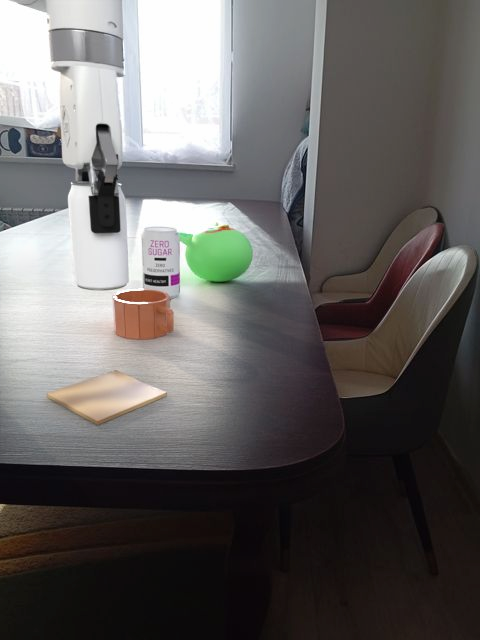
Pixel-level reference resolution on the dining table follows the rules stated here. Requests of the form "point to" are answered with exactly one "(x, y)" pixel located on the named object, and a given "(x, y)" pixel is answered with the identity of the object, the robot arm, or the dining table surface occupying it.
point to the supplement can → (161, 260)
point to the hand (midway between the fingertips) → (98, 226)
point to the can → (96, 244)
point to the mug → (142, 314)
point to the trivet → (106, 396)
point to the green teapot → (217, 252)
